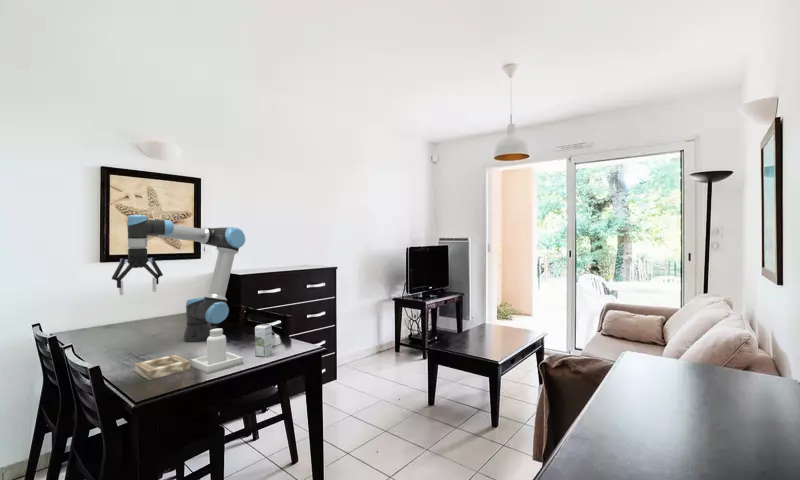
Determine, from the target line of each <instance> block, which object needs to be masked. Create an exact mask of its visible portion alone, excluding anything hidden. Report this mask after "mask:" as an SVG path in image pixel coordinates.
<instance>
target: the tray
mask: <svg viewBox="0 0 800 480" xmlns="http://www.w3.org/2000/svg"><path fill="white" fill-rule="evenodd" d="M240 365H244V357H243V356H241V355H238V354H235V353H232V352H229V351H227V361H223V362H220V363H216V364H212V365H209V364H208V362H207V355H204V356H200V357H195V358H191V359H190V368H191V367H192V368H194V369H197V370H199V371H200V372H203V373H205V374H207V375H208V374H211V373H215V372H219V371H222V370H223V371H224V370H226V369H231V368H234V367H237V366H240Z"/></svg>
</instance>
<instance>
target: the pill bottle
mask: <svg viewBox="0 0 800 480" xmlns="http://www.w3.org/2000/svg"><path fill="white" fill-rule="evenodd" d="M211 329H212V330H210V335H211V336H209V337H208V338H207V340H206V354H207V355H206V356H207V362H208V364H209V365H212V364H216V363H220V362H223V361H227V352H228V351H227V337H226V335H225V334H223V333H224V330H223V328H211Z"/></svg>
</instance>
